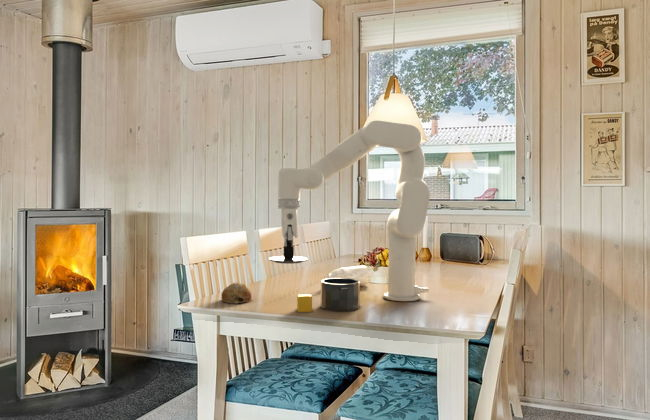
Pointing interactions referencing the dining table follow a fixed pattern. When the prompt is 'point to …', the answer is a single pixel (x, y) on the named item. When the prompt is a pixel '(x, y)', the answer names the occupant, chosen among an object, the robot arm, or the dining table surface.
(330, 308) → the pan
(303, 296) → the butter carton
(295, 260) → the pan lid
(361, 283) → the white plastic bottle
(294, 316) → the dining table surface
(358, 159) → the robot arm
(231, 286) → the brown rounded lump
